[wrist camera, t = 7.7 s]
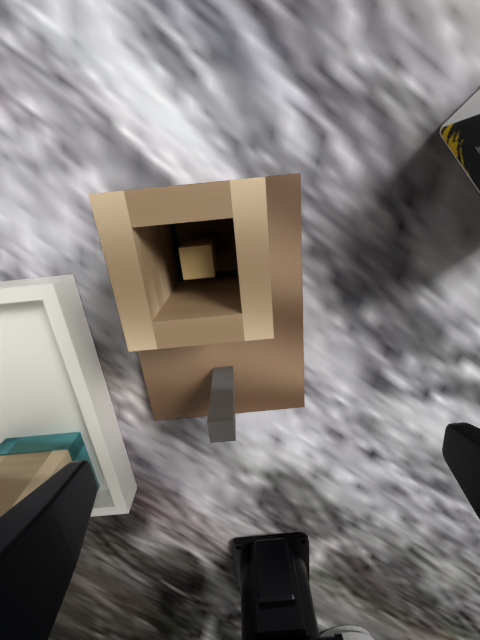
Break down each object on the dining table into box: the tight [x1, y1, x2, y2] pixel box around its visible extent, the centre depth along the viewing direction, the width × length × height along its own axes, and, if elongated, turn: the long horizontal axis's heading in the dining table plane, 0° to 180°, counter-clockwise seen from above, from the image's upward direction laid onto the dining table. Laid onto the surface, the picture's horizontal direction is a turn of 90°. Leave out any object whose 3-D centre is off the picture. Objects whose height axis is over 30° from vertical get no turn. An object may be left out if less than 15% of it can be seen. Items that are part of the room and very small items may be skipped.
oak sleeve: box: [88, 177, 274, 352], centre depth 13 cm, size 5×5×7 cm
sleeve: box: [0, 432, 100, 516], centre depth 18 cm, size 5×5×7 cm
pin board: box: [138, 173, 304, 443], centre depth 15 cm, size 14×10×6 cm
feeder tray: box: [0, 274, 137, 517], centre depth 19 cm, size 17×10×2 cm, turn 5°
